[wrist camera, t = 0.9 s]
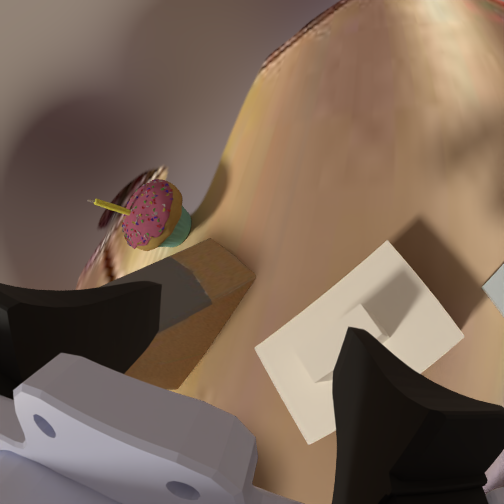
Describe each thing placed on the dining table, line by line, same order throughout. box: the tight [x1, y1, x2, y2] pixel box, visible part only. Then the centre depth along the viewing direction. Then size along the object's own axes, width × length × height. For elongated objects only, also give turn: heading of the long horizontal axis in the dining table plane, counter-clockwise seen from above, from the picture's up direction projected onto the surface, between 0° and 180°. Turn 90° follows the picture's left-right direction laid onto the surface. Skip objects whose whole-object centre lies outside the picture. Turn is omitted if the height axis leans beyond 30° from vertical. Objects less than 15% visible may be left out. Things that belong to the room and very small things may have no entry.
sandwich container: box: [101, 238, 256, 390], centre depth 27 cm, size 9×15×15 cm, turn 140°
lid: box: [255, 240, 465, 445], centre depth 19 cm, size 9×13×5 cm
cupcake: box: [88, 179, 191, 251], centre depth 34 cm, size 9×8×12 cm
